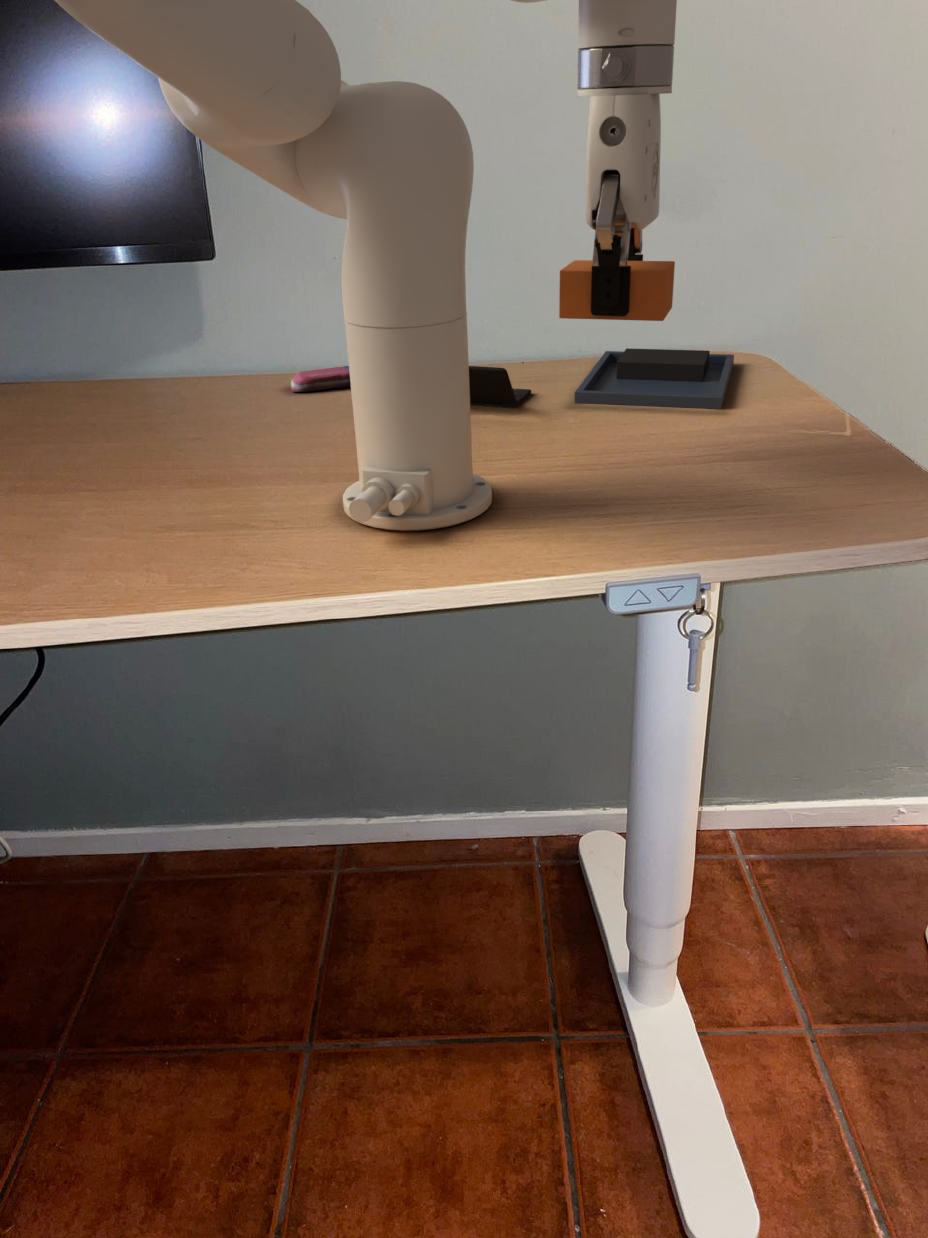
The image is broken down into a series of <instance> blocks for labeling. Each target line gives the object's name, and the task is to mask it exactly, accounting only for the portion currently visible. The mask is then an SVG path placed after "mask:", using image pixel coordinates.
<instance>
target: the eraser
mask: <svg viewBox="0 0 928 1238" xmlns="http://www.w3.org/2000/svg"><path fill="white" fill-rule="evenodd" d="M346 387H351V383H350V372H349V365H343V366H336V367H335V366H334V367H328V368H327V367H326V368H320V369H319V368H318V369H311V370H305V371H304V370H303V371H299V372H297V373H296V374H295V375H294V377H292V379H291V381H290V389H291V392H293V393H294V392H297V393H301V392H313V391H314V392H315V391H322V390H331V389H338V388H339V389H340V388H346Z"/></svg>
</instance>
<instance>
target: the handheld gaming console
mask: <svg viewBox="0 0 928 1238" xmlns="http://www.w3.org/2000/svg"><path fill="white" fill-rule="evenodd" d="M469 388H470V406H475V407H477V406H478V407H492V408H505V409H517V407H519V406H520V405H522V404H523V403H524V402H525V401H526V400H527V399H528V398H529V397H531V396H532V390H531V389H530V388H528V389H527V388H514V387H513V386H512V382H511V380H510V376H509V373H508V369H506V368H504V367H497V366H496V367H495V366H477V365H469Z"/></svg>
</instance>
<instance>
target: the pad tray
mask: <svg viewBox="0 0 928 1238" xmlns="http://www.w3.org/2000/svg"><path fill="white" fill-rule="evenodd" d="M623 353H624V351H622V350H621V351H618V350H617V351H616V350H606V351H604V353H603V354H602V355H601V357H600V358H599V359H598V360H597V362H596V363H595V364H594V366H593V368H592V369H591V370H590V371H589V373H588V374H587V375H586V377H585V378H584V380H583V381H582V382H581V383H580V385H579V386H578V387H577V388H576V390H575V391H574V404H581V405H605V406H627V407H628V406H629V407H651V408H652V407H653V408H673V409H674V408H677V409H699V410H722V409H723V405H724V400H725V397H726V393H727V389H728V386H729V382H730V379H731V374H732V371H733V367H734V361H735V355H734V354H728V353H727V354H725V353H709V367H708V370H707V372H706V375H705V378H704V381H703V382H693V381H665V380H637V379H617V378H616V375H617V361H618V360H619V358H620V357H621V355H622V354H623Z"/></svg>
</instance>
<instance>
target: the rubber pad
mask: <svg viewBox="0 0 928 1238" xmlns="http://www.w3.org/2000/svg"><path fill="white" fill-rule="evenodd" d="M623 352H624V353H623V354H622V355H621V357H620V358H619V360H618V361H617V375H616V378H617V379H637V380H665V381H693V382H703V381H704V378H705V375H706V372H707V370H708V367H709V354H711V353H710V350H700V349H698V350H697V349H661V348H629V347H628V348H627V347H626V348H625V350H624V351H623Z"/></svg>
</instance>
